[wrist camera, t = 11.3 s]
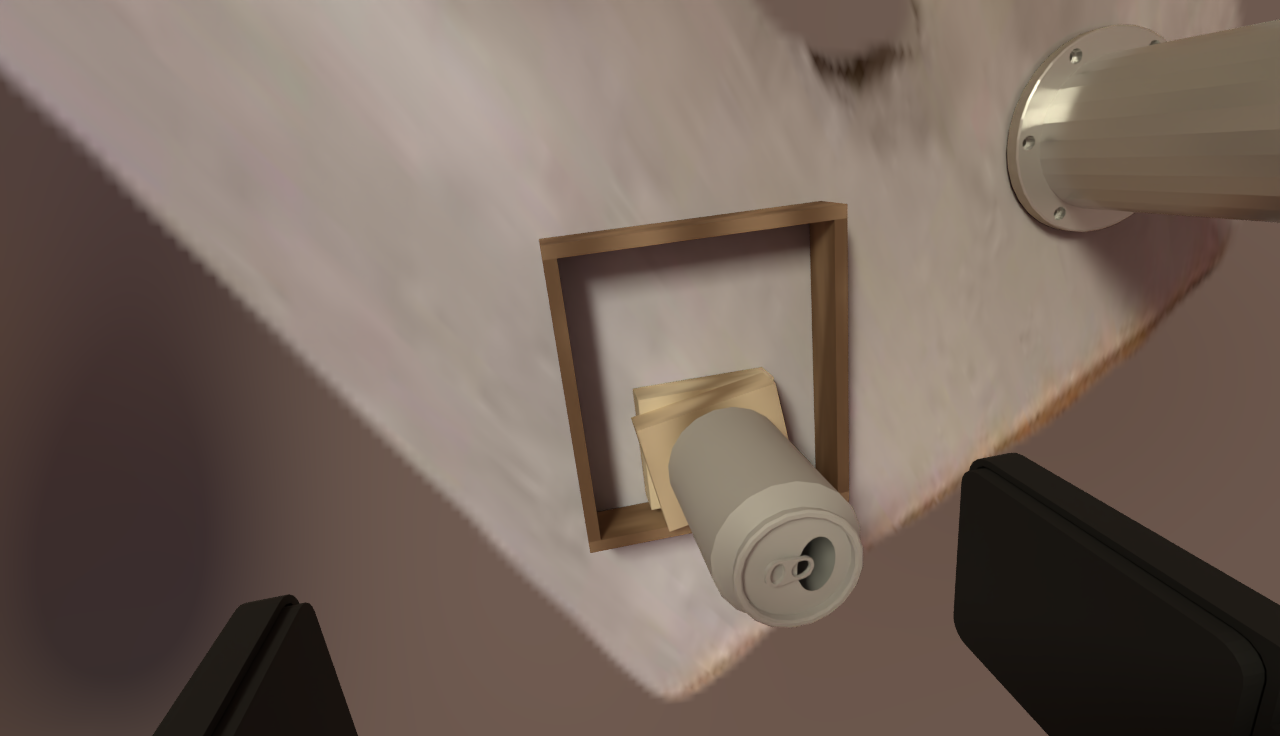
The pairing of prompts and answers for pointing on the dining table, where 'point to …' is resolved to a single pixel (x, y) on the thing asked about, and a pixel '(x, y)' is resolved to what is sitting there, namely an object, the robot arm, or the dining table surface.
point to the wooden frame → (826, 334)
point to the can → (765, 519)
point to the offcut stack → (677, 407)
